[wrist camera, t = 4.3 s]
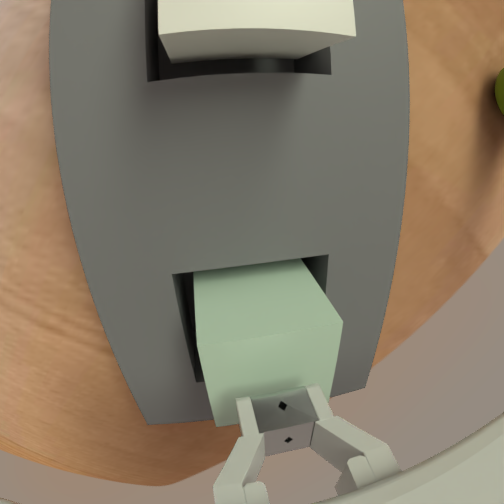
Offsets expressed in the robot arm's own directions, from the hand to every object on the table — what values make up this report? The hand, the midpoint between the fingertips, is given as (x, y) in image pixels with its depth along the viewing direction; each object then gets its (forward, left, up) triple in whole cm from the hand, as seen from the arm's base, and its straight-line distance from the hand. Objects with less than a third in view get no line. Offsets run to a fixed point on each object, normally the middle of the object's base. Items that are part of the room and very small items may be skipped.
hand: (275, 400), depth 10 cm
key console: (0, -7, -9) cm, 12 cm away
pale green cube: (0, 0, -6) cm, 6 cm away
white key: (0, -14, -6) cm, 15 cm away
